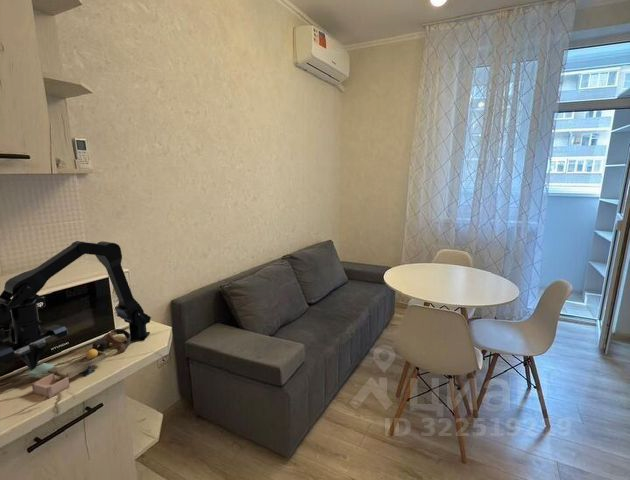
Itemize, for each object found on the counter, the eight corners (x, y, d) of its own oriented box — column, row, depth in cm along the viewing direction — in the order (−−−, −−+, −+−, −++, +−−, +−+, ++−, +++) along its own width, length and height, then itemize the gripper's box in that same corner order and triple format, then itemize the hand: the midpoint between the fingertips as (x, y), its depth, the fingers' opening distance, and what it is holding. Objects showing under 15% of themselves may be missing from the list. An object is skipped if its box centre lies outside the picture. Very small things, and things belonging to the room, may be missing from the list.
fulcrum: (83, 368, 104) (82, 362, 104) (95, 371, 102) (94, 365, 102) (73, 373, 101) (73, 367, 101) (86, 376, 100) (85, 370, 99)
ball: (90, 356, 105) (89, 347, 105) (100, 355, 106) (99, 347, 105) (85, 361, 102) (84, 352, 102) (95, 360, 103) (94, 351, 102)
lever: (76, 352, 110) (76, 345, 109) (107, 359, 106) (106, 352, 105) (26, 376, 96) (25, 369, 95) (59, 385, 92) (58, 378, 91)
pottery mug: (114, 342, 122) (124, 325, 121) (128, 359, 118) (138, 341, 118) (81, 349, 111) (92, 329, 110) (96, 367, 107) (107, 347, 107)
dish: (53, 382, 96) (52, 373, 96) (69, 386, 94) (68, 377, 94) (33, 393, 91) (31, 383, 91) (49, 398, 89) (48, 388, 89)
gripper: (41, 305, 105) (47, 349, 107) (-35, 328, 87) (-26, 381, 90) (66, 309, 102) (71, 355, 104) (-8, 335, 84) (1, 389, 87)
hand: (32, 369), depth 96 cm, fingers closed
